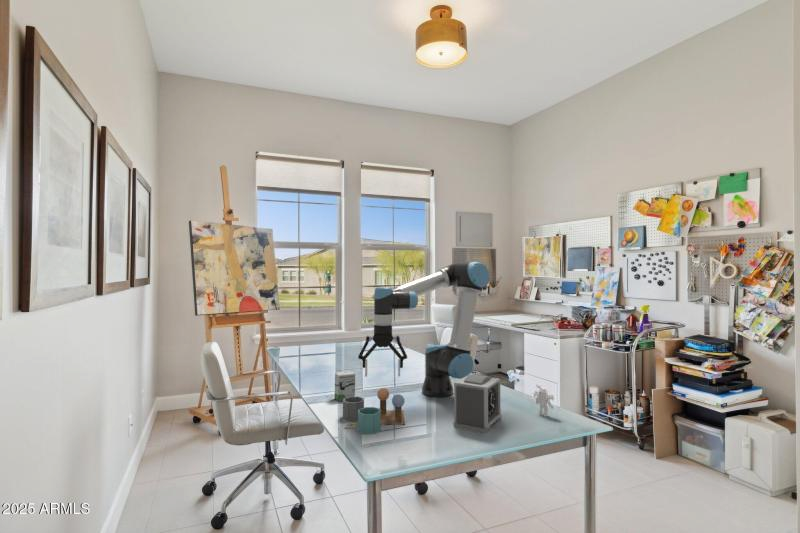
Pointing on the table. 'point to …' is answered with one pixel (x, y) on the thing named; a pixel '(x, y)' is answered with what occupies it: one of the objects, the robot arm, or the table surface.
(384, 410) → the stand
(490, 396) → the alarm clock
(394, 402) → the ball slate
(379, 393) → the ball terracotta
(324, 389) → the table surface
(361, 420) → the tube teal
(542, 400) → the blocky character figurine
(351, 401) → the tube charcoal
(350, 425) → the card
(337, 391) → the ink box
